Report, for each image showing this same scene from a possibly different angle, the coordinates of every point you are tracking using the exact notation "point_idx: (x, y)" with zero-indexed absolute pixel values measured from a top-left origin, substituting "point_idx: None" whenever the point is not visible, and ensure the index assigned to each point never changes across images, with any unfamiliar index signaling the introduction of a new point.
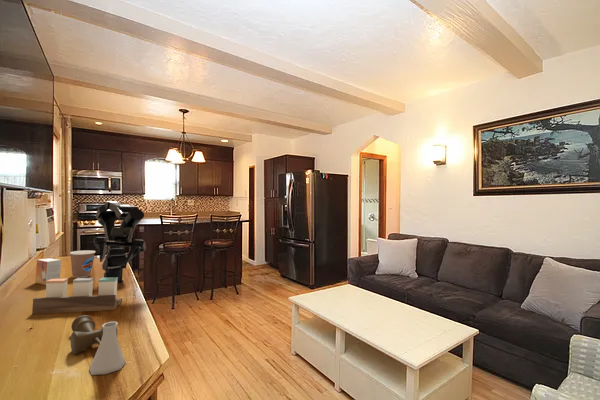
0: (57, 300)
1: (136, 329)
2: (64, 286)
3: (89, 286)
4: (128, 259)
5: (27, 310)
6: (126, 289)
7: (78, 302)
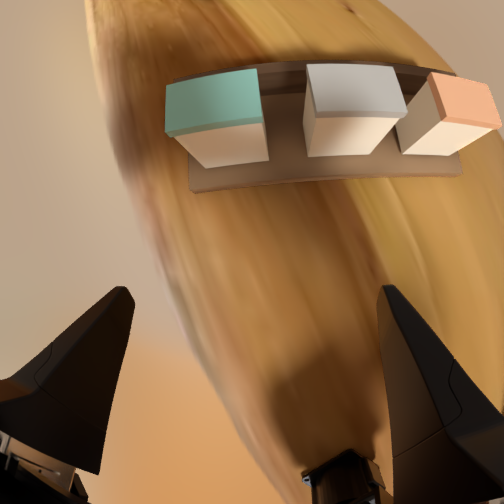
0: None
1: (113, 22)
2: (423, 101)
3: (307, 88)
4: (94, 312)
5: None
6: (246, 382)
7: None
